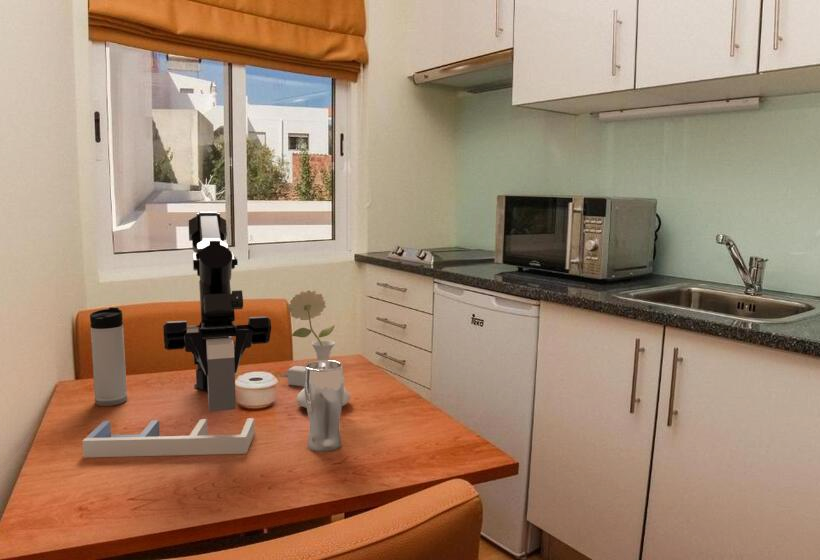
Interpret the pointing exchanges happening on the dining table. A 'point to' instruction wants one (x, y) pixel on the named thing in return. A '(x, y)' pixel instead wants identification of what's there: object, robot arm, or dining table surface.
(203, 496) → the dining table surface
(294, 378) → the usb wall charger
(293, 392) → the dining table surface
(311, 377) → the beer glass
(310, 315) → the flower in vase
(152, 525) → the dining table surface
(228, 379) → the grey tall block
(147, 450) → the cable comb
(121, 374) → the travel mug
